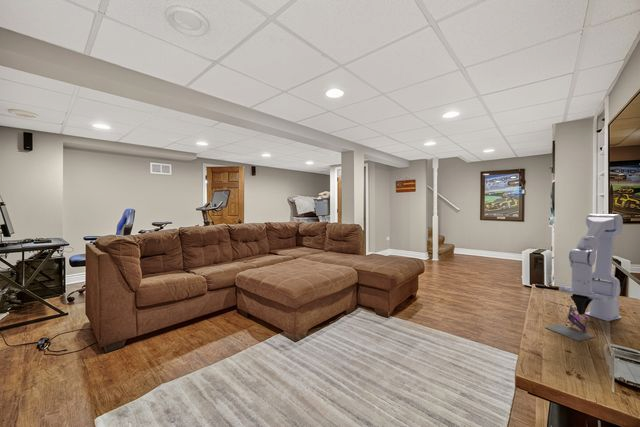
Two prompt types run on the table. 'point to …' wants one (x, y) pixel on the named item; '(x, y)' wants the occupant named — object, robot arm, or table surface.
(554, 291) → the table surface
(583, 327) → the purple monster photo frame
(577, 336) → the mat
